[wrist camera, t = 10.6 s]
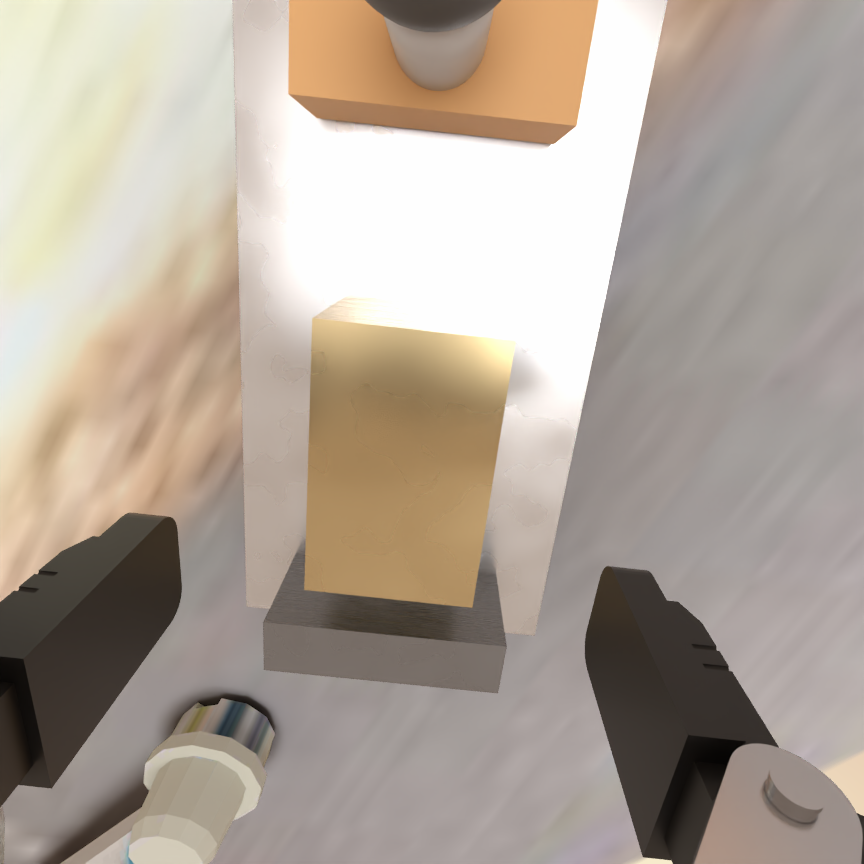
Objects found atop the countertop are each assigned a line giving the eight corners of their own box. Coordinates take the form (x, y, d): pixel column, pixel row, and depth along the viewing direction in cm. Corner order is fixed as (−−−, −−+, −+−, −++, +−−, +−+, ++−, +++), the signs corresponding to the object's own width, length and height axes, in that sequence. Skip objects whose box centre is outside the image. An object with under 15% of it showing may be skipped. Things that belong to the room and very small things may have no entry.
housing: (347, 295, 18) (312, 317, 13) (498, 311, 18) (515, 340, 13) (336, 508, 21) (304, 589, 16) (466, 522, 21) (472, 607, 16)
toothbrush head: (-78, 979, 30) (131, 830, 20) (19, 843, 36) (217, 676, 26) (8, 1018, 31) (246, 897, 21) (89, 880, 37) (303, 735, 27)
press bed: (251, -412, 14) (115, -855, 8) (718, -356, 14) (903, -754, 8) (262, 577, 24) (206, 682, 19) (527, 604, 24) (551, 716, 19)
